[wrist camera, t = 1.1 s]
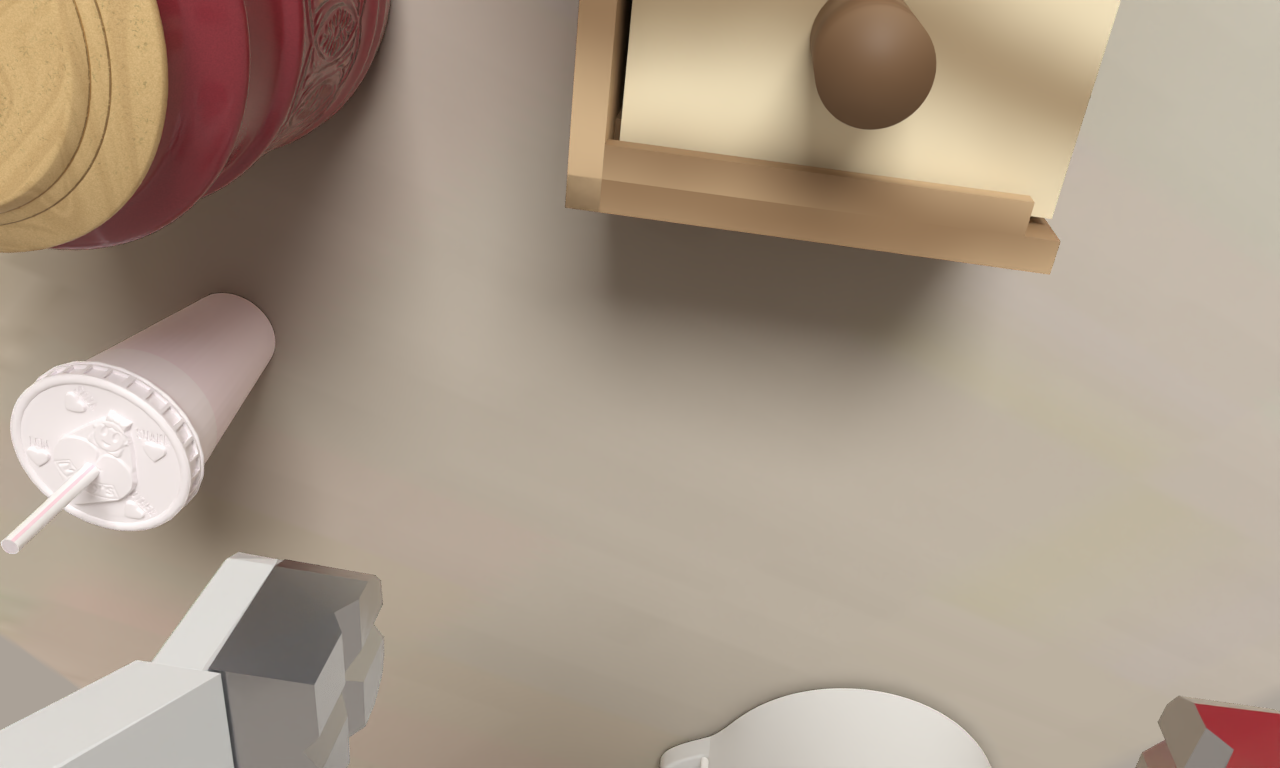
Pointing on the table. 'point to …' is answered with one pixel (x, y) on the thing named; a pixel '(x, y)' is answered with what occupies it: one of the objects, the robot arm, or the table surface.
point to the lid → (872, 85)
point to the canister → (159, 104)
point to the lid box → (774, 181)
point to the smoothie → (138, 417)
